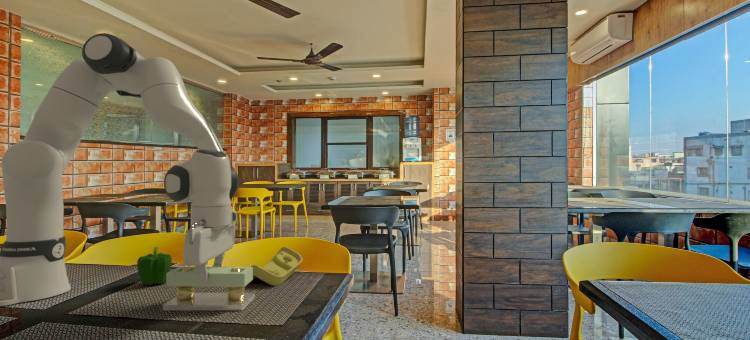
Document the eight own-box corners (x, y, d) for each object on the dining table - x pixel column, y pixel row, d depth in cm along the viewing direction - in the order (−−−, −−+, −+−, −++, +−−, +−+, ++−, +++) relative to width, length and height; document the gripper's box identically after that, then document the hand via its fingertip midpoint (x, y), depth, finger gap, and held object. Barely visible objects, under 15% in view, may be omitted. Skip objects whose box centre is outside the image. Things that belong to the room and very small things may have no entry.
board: (252, 279, 95) (252, 267, 95) (244, 286, 89) (244, 273, 89) (179, 278, 95) (179, 266, 95) (166, 286, 89) (166, 273, 89)
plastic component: (280, 279, 105) (249, 261, 106) (270, 302, 106) (239, 284, 108) (307, 257, 124) (281, 243, 126) (298, 277, 125) (272, 263, 127)
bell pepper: (161, 287, 104) (161, 250, 104) (131, 287, 105) (131, 250, 105) (177, 279, 113) (177, 245, 113) (149, 279, 113) (150, 245, 113)
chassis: (162, 310, 87) (162, 273, 87) (182, 297, 96) (182, 264, 96) (242, 310, 87) (242, 274, 87) (254, 297, 96) (254, 264, 96)
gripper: (205, 223, 81) (204, 289, 81) (239, 213, 102) (239, 265, 102) (175, 223, 81) (174, 288, 81) (215, 213, 102) (215, 265, 102)
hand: (210, 275), depth 92 cm, fingers closed on board, 6 cm apart
